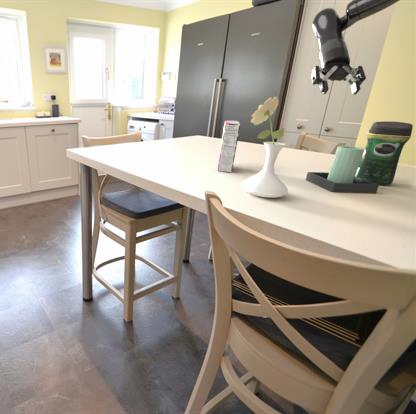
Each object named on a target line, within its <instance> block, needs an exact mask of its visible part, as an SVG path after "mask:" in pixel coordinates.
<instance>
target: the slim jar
mask: <svg viewBox="0 0 416 414" xmlns="http://www.w3.org/2000/svg"><path fill="white" fill-rule="evenodd" d="M364 150H365V148H364V147H358V146H351V145H338V146H337V148H336V151H335V154H334V156H333V160H332V162H331V167H330V169H329V171H328V173H329V175H328V178H327V180H330V181H332V182H335V183H353V180H354V177H355V175H356V172H357V169H358V167H359V164H360V161H361V158H362V156H363V153H364Z"/></svg>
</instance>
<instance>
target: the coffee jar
mask: <svg viewBox="0 0 416 414" xmlns="http://www.w3.org/2000/svg"><path fill="white" fill-rule="evenodd" d="M413 127H414V126H413V124H412V123H409V122H402V121H391V120H389V121H387V120H386V121H375V122H373V123H372V125H371V126H370V128H369V130H368V132H367V134H366V140H367V141H366V144H365V148H364V149H365V150H364V153H363V156H362V158H361V161H360V164H359V167H358V169H357V172H356V175H355V176H356V177H359V178H362V179H365V180H368V181H370V182H373V183H376V184H379V186H380V185H381V186H383V185H384V186H387V185H388V186H389V185H391V184H393V182H394V179H395V176H396V172H397V169H398V166H399V165H398V164H399V160H400V157H401V154H402V151H403V149H404V146H405V145H406V144H407V143H408V142H409V141H410V139H411V137H412V133H413Z"/></svg>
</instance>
